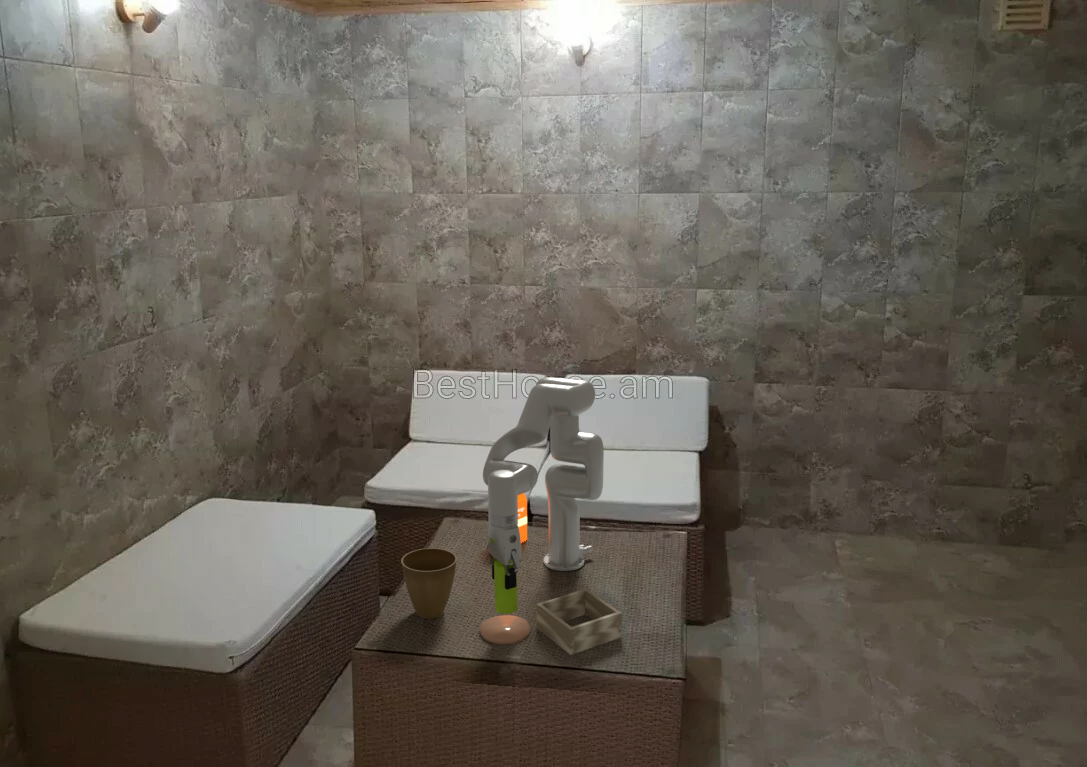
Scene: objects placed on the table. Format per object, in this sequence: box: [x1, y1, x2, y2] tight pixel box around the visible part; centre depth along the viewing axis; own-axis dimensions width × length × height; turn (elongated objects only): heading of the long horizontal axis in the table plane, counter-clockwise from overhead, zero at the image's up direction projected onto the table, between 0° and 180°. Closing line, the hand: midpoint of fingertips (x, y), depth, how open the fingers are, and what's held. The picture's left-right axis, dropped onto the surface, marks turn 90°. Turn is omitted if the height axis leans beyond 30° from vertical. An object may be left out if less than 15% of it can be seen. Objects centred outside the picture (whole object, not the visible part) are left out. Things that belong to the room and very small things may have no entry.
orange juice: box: [518, 493, 528, 544], centre depth 292 cm, size 8×9×20 cm
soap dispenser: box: [489, 538, 518, 615], centre depth 235 cm, size 6×7×20 cm
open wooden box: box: [536, 588, 623, 656], centre depth 237 cm, size 16×16×7 cm
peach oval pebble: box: [479, 614, 531, 645], centre depth 239 cm, size 13×13×1 cm
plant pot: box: [400, 547, 458, 620], centre depth 247 cm, size 15×15×16 cm
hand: (504, 582), depth 235 cm, fingers closed on soap dispenser, 5 cm apart
